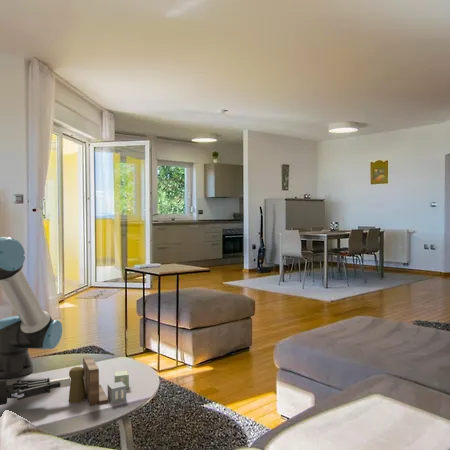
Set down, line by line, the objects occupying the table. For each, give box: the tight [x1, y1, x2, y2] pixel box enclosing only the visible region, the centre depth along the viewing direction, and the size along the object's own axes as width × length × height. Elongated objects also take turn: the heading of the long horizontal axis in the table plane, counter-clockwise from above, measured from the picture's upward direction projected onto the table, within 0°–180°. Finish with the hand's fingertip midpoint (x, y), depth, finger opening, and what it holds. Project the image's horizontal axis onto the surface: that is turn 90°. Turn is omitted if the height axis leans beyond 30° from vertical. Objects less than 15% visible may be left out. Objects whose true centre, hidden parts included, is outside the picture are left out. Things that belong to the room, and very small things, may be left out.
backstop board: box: [82, 355, 109, 407], centre depth 158 cm, size 16×6×12 cm, turn 25°
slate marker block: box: [107, 382, 127, 404], centre depth 155 cm, size 5×5×5 cm
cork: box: [68, 366, 88, 404], centre depth 156 cm, size 6×6×11 cm
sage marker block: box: [114, 370, 130, 389], centre depth 167 cm, size 5×5×5 cm
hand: (69, 381), depth 155 cm, fingers closed
